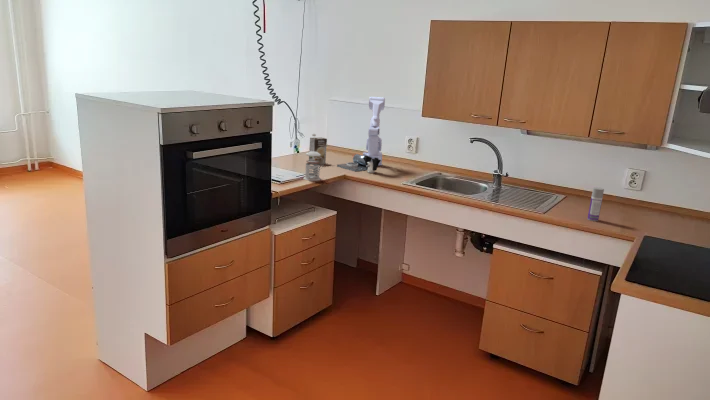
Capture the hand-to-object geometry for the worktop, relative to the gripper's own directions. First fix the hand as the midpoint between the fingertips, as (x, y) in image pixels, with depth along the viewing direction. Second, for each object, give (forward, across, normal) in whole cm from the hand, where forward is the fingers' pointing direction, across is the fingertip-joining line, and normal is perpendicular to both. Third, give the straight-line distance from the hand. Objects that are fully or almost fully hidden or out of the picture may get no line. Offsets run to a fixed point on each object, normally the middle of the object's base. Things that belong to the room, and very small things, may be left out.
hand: (371, 169), depth 316 cm
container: (+2, +126, +21) cm, 128 cm away
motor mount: (+2, -14, +1) cm, 14 cm away
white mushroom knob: (+2, 0, 0) cm, 2 cm away
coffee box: (+2, -36, -13) cm, 38 cm away
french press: (+2, -2, -43) cm, 43 cm away
